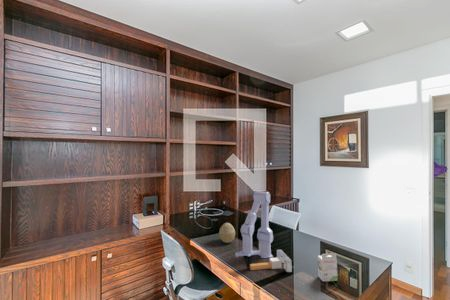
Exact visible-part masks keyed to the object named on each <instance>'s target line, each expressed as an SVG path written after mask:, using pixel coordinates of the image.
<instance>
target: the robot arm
mask: <svg viewBox="0 0 450 300" xmlns="http://www.w3.org/2000/svg"><path fill="white" fill-rule="evenodd" d="M252 198H253V203H252V207H251V210H250V212H248V213H247V216H246V218H245V221H244V223H243V224H242V225H241V227H240V233H241V237H242V250H240V251H236V252H235V257H236V258H238V257H243V259H244V263H245V266H246V269H249V270H250V264H252V262H253V259H254V257H253V256H257V255H258V256H260V258H261V259H267V258H274V255H273V254H272V249H271V247H272V245H271V243H273V241H274V233H273V230H272V229H271V228H270V225H269V224H270V223H269V221H270V218H269V217H270V214H269V213H270V212H269V211H270V205H269V204H271V194H270V192H269V191H261V190H255V191H254V192H253V194H252ZM259 209H260V211H261V212H260V213H261V214H260V215H261V216H260V227H259V228H258V229H257V234H256V238H257V240H258V249H257V250H255V249H253V235H254V232H255V223H256V221H257V219H258V217H257V216H258V215H257V213H258V210H259Z"/></svg>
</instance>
